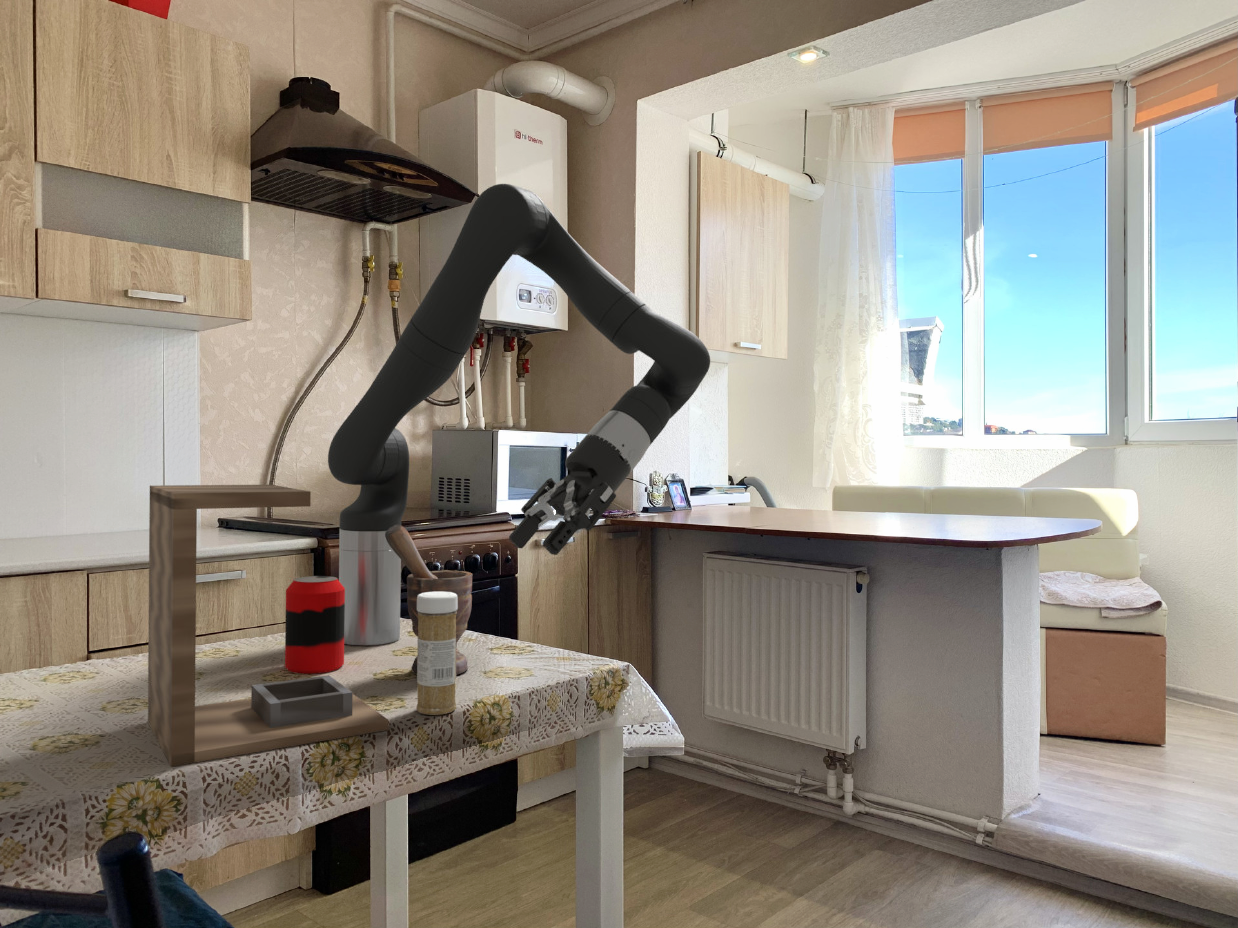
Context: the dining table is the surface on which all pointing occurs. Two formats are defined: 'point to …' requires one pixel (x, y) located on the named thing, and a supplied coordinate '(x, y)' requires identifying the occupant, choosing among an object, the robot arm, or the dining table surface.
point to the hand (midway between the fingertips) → (530, 546)
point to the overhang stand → (172, 715)
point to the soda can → (314, 625)
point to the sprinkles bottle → (436, 652)
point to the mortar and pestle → (431, 586)
